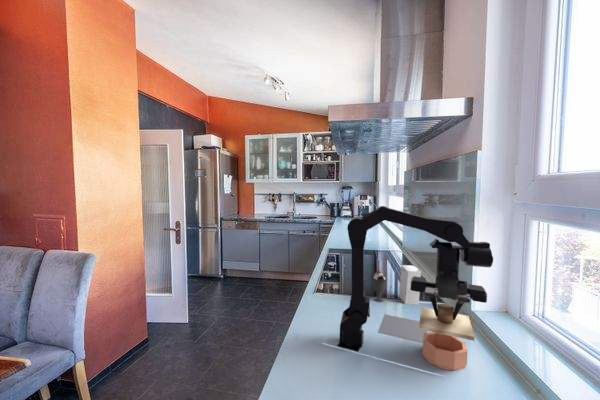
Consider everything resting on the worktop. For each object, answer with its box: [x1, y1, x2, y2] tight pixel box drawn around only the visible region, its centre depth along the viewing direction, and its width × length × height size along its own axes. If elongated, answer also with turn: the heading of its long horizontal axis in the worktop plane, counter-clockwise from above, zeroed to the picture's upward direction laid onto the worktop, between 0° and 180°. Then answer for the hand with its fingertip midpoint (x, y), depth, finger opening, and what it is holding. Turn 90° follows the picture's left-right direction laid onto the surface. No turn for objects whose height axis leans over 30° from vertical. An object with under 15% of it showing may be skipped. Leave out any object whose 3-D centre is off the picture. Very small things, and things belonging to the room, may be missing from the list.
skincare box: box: [398, 264, 422, 306], centre depth 121 cm, size 8×6×15 cm
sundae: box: [371, 268, 388, 303], centre depth 120 cm, size 7×7×15 cm
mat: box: [377, 313, 428, 344], centre depth 97 cm, size 15×15×1 cm
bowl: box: [422, 331, 468, 371], centre depth 81 cm, size 11×11×5 cm
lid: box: [419, 303, 475, 342], centre depth 80 cm, size 13×13×5 cm
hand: (445, 317), depth 80 cm, fingers closed on lid, 4 cm apart
